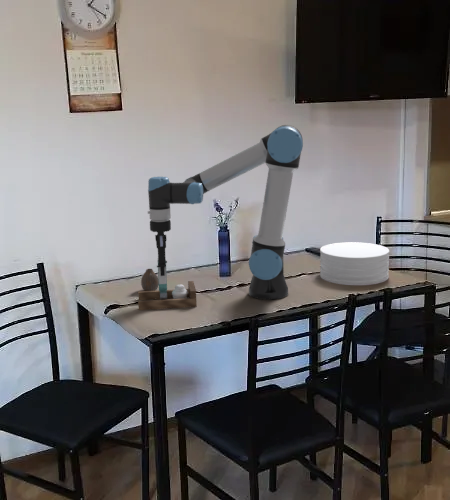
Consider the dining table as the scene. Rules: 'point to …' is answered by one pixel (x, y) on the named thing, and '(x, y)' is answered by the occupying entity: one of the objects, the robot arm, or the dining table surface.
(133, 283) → the dining table surface
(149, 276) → the vase
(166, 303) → the wooden tray
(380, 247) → the plate stack
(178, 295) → the white rounded lump
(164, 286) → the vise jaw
